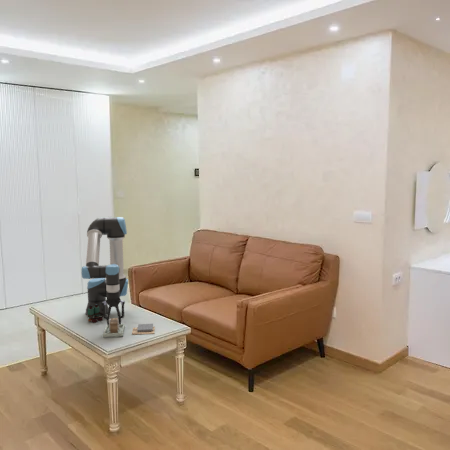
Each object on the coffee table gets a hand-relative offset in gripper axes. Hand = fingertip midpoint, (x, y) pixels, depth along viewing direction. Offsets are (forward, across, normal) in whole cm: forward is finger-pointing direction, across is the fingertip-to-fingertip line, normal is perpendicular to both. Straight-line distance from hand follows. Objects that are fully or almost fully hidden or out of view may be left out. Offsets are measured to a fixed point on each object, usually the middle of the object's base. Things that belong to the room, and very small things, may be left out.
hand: (114, 329), depth 260 cm
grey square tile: (+1, +18, +7) cm, 19 cm away
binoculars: (+2, -14, +23) cm, 27 cm away
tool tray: (+2, 0, 0) cm, 2 cm away
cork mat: (+2, +17, 0) cm, 17 cm away
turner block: (+1, 0, 0) cm, 1 cm away
